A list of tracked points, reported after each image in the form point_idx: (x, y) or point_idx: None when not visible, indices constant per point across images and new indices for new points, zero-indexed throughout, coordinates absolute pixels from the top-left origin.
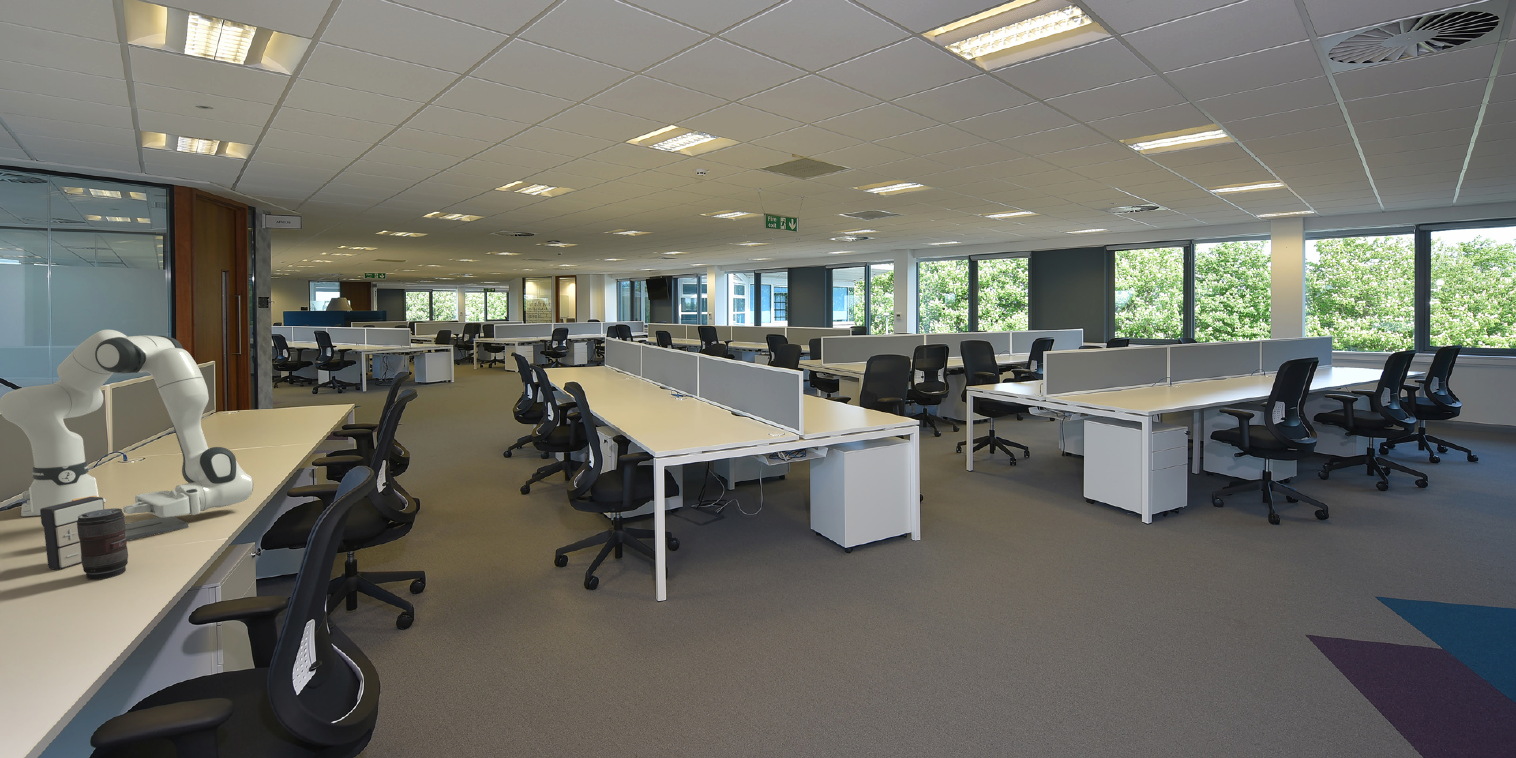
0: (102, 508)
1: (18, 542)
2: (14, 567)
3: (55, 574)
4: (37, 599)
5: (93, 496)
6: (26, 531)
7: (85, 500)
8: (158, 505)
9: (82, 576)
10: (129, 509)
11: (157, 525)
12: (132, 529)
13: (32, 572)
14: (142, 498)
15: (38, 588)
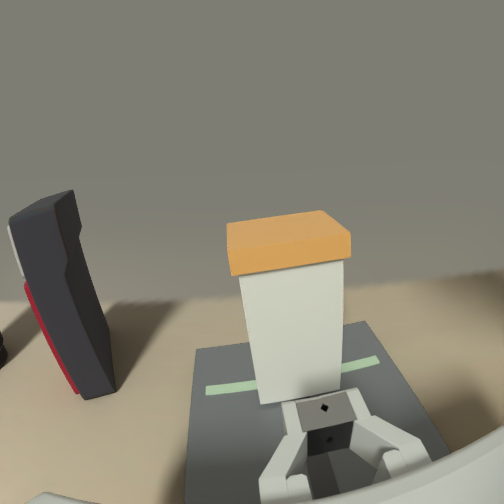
0: (16, 258)
1: (413, 286)
2: (188, 301)
3: None
4: (6, 313)
5: (327, 232)
6: (498, 280)
7: (28, 207)
8: (46, 493)
9: (15, 348)
10: (283, 418)
11: None
12: None
13: (120, 316)
14: (471, 445)
15: None
